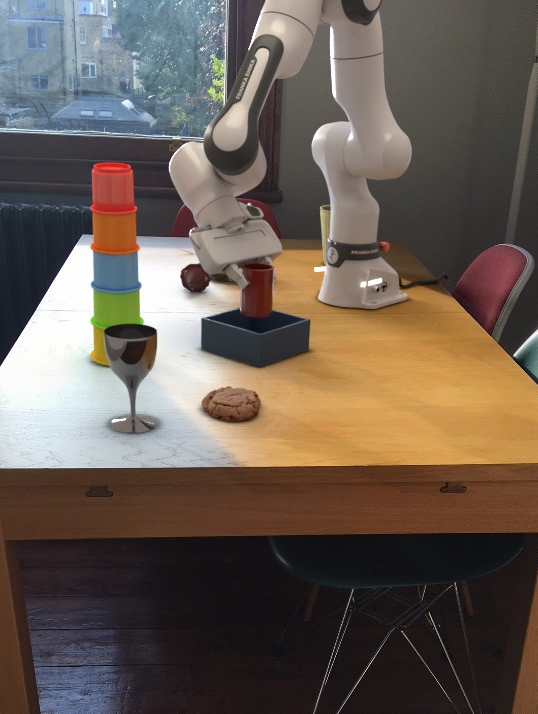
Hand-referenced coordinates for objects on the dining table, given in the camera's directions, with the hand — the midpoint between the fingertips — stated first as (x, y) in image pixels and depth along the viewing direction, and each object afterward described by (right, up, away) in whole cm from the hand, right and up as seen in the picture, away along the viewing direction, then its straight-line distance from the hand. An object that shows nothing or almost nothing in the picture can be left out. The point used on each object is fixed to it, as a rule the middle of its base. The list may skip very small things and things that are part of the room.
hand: (259, 283), depth 167 cm
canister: (-1, -5, +3) cm, 6 cm away
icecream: (-15, +10, +46) cm, 49 cm away
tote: (-1, -11, +7) cm, 13 cm away
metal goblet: (-20, -30, -29) cm, 46 cm away
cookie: (-5, -27, -22) cm, 35 cm away
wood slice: (-6, +17, +60) cm, 63 cm away
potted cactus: (+23, +11, +86) cm, 89 cm away
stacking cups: (-27, -15, -1) cm, 31 cm away
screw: (-3, +34, +93) cm, 99 cm away
